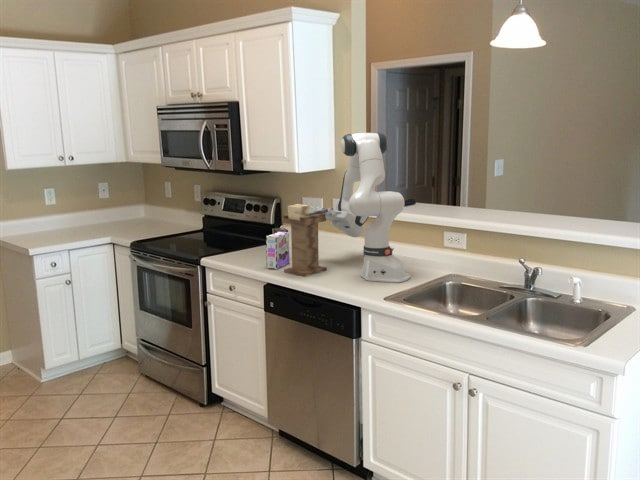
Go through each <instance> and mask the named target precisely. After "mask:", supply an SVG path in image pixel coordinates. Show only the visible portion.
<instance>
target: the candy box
mask: <svg viewBox="0 0 640 480" xmlns="http://www.w3.org/2000/svg"><path fill="white" fill-rule="evenodd" d="M265 244H266V245H265V247H266V248H265V250H266V252H265V254H266V255H265V256H266V269H270V270H279V269H281V268H284V267H286V266H287V265H290V264H291V263H290V235H289V231H288V232H278V233H275V234H273V233H272V234H269V235H266V236H265Z"/></svg>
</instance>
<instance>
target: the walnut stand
mask: <svg viewBox="0 0 640 480" xmlns="http://www.w3.org/2000/svg"><path fill="white" fill-rule="evenodd" d="M282 217H283V218H282V223H283V224H289V225H290V235H291V236H290V237H291V267H287V268H284V269H283V272H284V273H286V274H289V273H290V275H294V276H299V277H304V278H305V277H307V276H311V275H314V274H319V273H322V272H326V271H327V270H328V268H327V266H322V265H319V264H320V263H319V258H320V257H319V256H320V255H319V223H323V222H327V220H326V217H325V214H318V215H312V216H306V217H300V220H295V219H288V214H284V215H283V216H282Z"/></svg>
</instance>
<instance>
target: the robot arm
mask: <svg viewBox="0 0 640 480" xmlns="http://www.w3.org/2000/svg"><path fill="white" fill-rule="evenodd" d="M340 147H341V151H342V154H344V155H345V156H347V157H348V167H347V169H346V171H345V172H344V174H343V178H342V185H341V193H340V197H339V198H340V199H339V201H338V203H337V204H338V205H337V210H334V209H333V210H331V209H330V208H331V207H327V213H323V214H325V217H326V222H329V221H330V222H331V223H332V224H331V225H332V226H333V227H334V228H336V229H337V230H339V231H342V232H343V233H344V234H345V235H347V236H349V237H351V238H358V237H360V236H362V235H363V234H364V245H363V250H362V251H363V266H362V270H361V275H360V277H361V278H363V279H364V280H366V281H369V282H370V281H371V282H384V283H385V282H386V283H394V284H395V283H396V284H399V283H404V282H406V281H408V280H410V279H411V274H409V273H407V272H406V266H405V264H404V263H403V262H402V261H401V260H400V259H398V258H397V257H396V256H395V255H394V254H393V251H394V250H395V248H394V247H391V246H390V243H389V242H390V229H391V226H392V224H393V222H394V220H395V219H396V218H397V217H398V216H399V215H400V214H401V213H402V212H403V210H404V208H405V198H404V196H403V195H402V194H401V192H397V191H390V190H387V191H386V190H385V191H376V189H375V188H376V186H378V185H380V184H381V183H382V182H383V181H385V178H386V173H385V172H386V171H385V165H384V159H383V158H384V157H383V155H384V154H385V153H386V152H387V148H388V139H387V136H386V135H385V133H382V132H376V133H375V132H357V133H347V134H345V135H343V137H342V139H341V143H340ZM355 182H360V183H359V186H358V188H357V189H356V191H355V192H354V193H353V191H354V184H355ZM321 209H326V208H325V207H321V208H317V209H316V211H317V210H321ZM369 217H375V220H374V221H373V222H372V223H371V224H369V225H367V227H366V228H365V223H366V222H367V221H368V219H369Z"/></svg>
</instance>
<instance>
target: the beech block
mask: <svg viewBox="0 0 640 480" xmlns="http://www.w3.org/2000/svg"><path fill="white" fill-rule="evenodd" d="M327 208H328V207H327ZM327 208H325V209H321V208H320V209H321V210H317V209H316V210H313V211H310V206H309V205H307V204H300V203H296V204H292V205H287V215H288V219H295V220H300V217H306V216H312V215H318V214H323V213H327ZM329 208H330V209H331V210H334V207H329Z"/></svg>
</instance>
